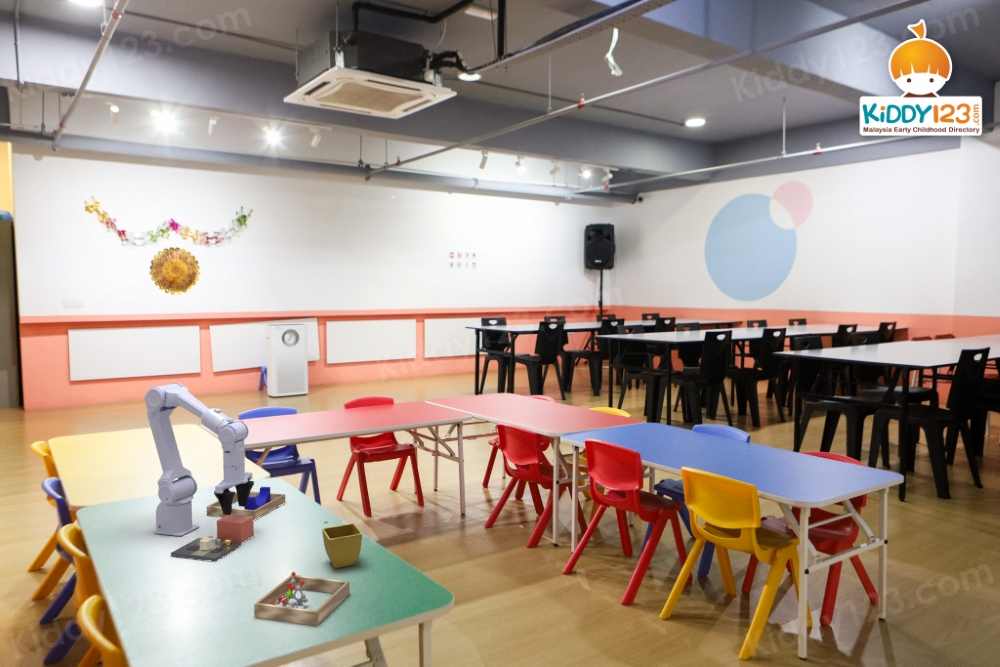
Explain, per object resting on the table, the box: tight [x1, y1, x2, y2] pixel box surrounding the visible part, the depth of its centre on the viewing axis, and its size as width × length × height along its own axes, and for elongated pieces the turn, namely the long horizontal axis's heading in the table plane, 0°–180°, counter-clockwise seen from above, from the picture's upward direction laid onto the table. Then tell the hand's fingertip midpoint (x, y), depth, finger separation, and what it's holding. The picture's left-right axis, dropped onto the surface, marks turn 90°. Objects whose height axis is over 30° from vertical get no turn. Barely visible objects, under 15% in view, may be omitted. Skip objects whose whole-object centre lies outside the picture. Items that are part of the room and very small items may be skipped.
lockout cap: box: [216, 514, 255, 544], centre depth 191 cm, size 8×6×6 cm
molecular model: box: [270, 571, 309, 608], centre depth 150 cm, size 7×8×8 cm
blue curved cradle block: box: [243, 486, 271, 510], centre depth 216 cm, size 12×4×6 cm, turn 174°
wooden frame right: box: [253, 574, 351, 627], centre depth 151 cm, size 15×15×3 cm
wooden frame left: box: [206, 490, 286, 521], centre depth 216 cm, size 17×17×3 cm
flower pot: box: [321, 523, 363, 569], centre depth 174 cm, size 9×9×9 cm
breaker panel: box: [170, 536, 242, 562], centre depth 182 cm, size 14×11×2 cm
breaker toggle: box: [200, 536, 214, 550], centre depth 180 cm, size 2×2×3 cm
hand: (235, 510), depth 190 cm, fingers open, 7 cm apart
